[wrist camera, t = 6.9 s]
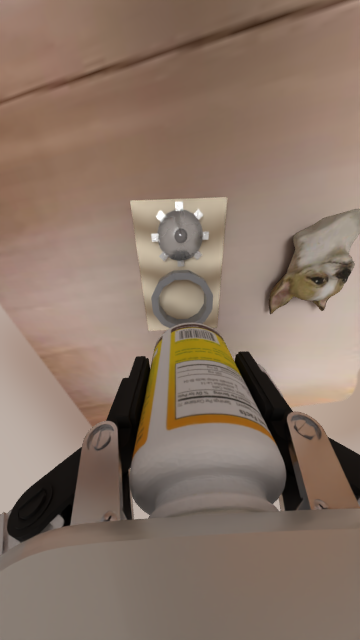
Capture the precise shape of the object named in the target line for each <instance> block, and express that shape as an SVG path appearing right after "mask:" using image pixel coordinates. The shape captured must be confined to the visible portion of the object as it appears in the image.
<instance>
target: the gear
mask: <svg viewBox="0 0 360 640" xmlns="http://www.w3.org/2000/svg"><path fill="white" fill-rule="evenodd" d="M202 216H203V214H202V213H201V212H200V210H199V209H197V211H196V212H195V213H194V214H193V213H191V212H189V211H187V210H183V202H175V210H173V211H171V212H169V213H167V214H166V215H165V214H164V213H163V212H162V211H161V210H160V211H159V213H158V214H157V216H156V218H157V219H158V220H159V221H160V224H159V227H158V232H157V233H156V234H151V236H152V242H158V243H159V246H160V248H161V250H162V251H163V252H162V254H161V255H160V256H159V257H160V258H161V259H162V260H163V261H165V260H166V259H167V258H168V257H169V258H171V259H173V260H177V261H178V267H180V266H184V260H187V259H190V258H191V257H193V256H194V257H195V258H196V259H197V260H198V259H199V258H200V257H201V256H202V254H201V253H200V252H199V251H198V250H199V249H200V247H201V244H202V240H208V238H209V232H203V230H202V226H201V224H200V222H199V219H200V218H201V217H202Z"/></svg>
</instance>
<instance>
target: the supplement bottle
mask: <svg viewBox="0 0 360 640" xmlns="http://www.w3.org/2000/svg"><path fill="white" fill-rule="evenodd" d="M285 482H286V469H285V464H284V461H283V458H282V456H281V454H280V451H279V449H278V447H277V445H276V443H275V440H274V439H273V437H272V435H271V433H270V431H269V429H268V427H267V425H266V423H265V421H264V419H263V417H262V416H261V414H260V412H259V410H258V408H257V406H256V404H255V402H254V400H253V398H252V396H251V394H250V392H249V390H248V388H247V386H246V384H245V382H244V380H243V378H242V376H241V374H240V372H239V370H238V368H237V366H236V364H235V362H234V360H233V358H232V356H231V354H230V352H229V350H228V348H227V346H226V344H225V342H224V340H223V339H222V337H221V336H220V335H219V334H218V333H217V332H216V331H215V330H214V329H212V328H211V327H209V326H207V325H204V324H200V323H183V324H179V325H176V326H174V327H172V328H170V329H168V330H167V331H166V332H164V333H163V334H162V335H161V337H160V338H159V340H158V341H157V343H156V346H155V349H154V354H153V358H152V364H151V369H150V373H149V378H148V383H147V388H146V393H145V398H144V403H143V408H142V413H141V418H140V423H139V427H138V432H137V438H136V443H135V447H134V452H133V457H132V463H131V469H130V476H129V486H130V491H131V494H132V496H133V499H134V500H135V502H136V503H137V505H138V506H139V507H140V508H141V509H142V510H143V511H144V512H146V513H148V514H149V515H150V516H149V518H148V519H150V518H167V517H183V516H201V515H219V514H238V513H256V512H276V511H278V509H277V508H276V507H275V506H274V505H273V503H274V502H275V501H276V500H277V499H278V498H279V496H280V495H281V493H282V492H283V490H284V487H285Z"/></svg>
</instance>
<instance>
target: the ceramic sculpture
mask: <svg viewBox="0 0 360 640" xmlns="http://www.w3.org/2000/svg"><path fill="white" fill-rule="evenodd" d="M359 234H360V209H354V210H351V211H347V212H343V213H340V214H336V215H333V216H329V217H326V218H323V219H322V220H320V221H319V222H317V223H316V224H314V225H312V226H311V227H309V228H307V229H304V230H302V231H300V232H298V233H296V234H295V235H294V238H293V241H294V245H295V253H294V255H293V257H292V260H291V263H290V265H289V267H288V270H287V273H286V275H284V276H283V277H282V278H281V280H280V281H279V282H278V283H277V284H276V285H275V286H274V288H273V289H272V291H271V293H270V298H269V310H270V314H272V313H273V312H274V311H275V310H276V309H278V308H279V307H281V306H283V305H285V304H287V303H288V302H289V301H290V300H291V299H292V297H297V298H299V299H302V300H307V301H313V302H314V303H315V304H316V305H317V306H318V307H319V309H320V310H321V311H323V310H324V308H325V305H326V302H327V300H328V299H329V298H330V297H331V296H333V295H335V294H336V293H338V292H339V291H340V290H341V289H342V288H343V285H344V283H346V281H347V279H348V276H349V275H350V274H351V271H352V270H353V268H354V265H355V263H354V262H353V260H352V257H351V256H350V255H349V250H350V247H351V245H352V243H353V242H354V240H355V239H356V238H357V237H358V235H359Z"/></svg>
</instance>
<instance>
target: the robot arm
mask: <svg viewBox="0 0 360 640" xmlns="http://www.w3.org/2000/svg"><path fill="white" fill-rule="evenodd" d="M235 364H236V366H237V368H238V370H239V372H240V374H241V376H242V378H243V380H244V382H245V384H246V386H247V388H248V390H249V392H250V394H251V396H252V398H253V400H254V402H255V404H256V406H257V408H258V410H259V412H260V414H261V416H262V417H263V419H264V421H265V423H266V425H267V427H268V429H269V431H270V433H271V435H272V437H273V439H274V440H275V443H276V445H277V447H278V449H279V451H280V454H281V456H282V458H283V461H284V464H285V469H286V482H285V487H284V490H283V492H282V493H281V495H280V496H279V503H280V509H281V511H276V512H256V513H238V514H219V515H201V516H183V517H167V518H150V519H135V520H134V514H133V501H132V494H131V491H130V486H129V476H130V468H131V463H132V457H133V452H134V447H135V443H136V438H137V432H138V427H139V423H140V418H141V413H142V408H143V403H144V398H145V393H146V388H147V383H148V378H149V373H150V365H149V359H148V358H146V357H145V356H139V357H136V358H135V361H134V364H133V367H132V370H131V373H130V376H129V378H123V379H122V381H121V384H120V386H119V389H118V392H117V394H116V397H115V399H114V402H113V404H112V407H111V410H110V412H109V415H108V417H107V420H106V421H104V422H100V423H98V424H96V425H95V426H94V427H92V428H91V429H90V431H89V432H88V433H87V434H86V436H85V438H84V441H83V444H82V447H81V448H80V449H78V450H77V451H76V452H74V453H73V454H72V455H71V456H69V457H68V458H67V459H65V460H64V461H63V462H62V463H60V464H59V465H58V466H57V467H55V468H54V469H53V470H52V471H50V472H49V473H48V474H47V475H45V476H44V477H42V478H41V479H40V480H39V481H37V482H36V483H35V484H34V485H33V486H31V487H30V488H29V489H28V490H27V491H26V492H25V493H24V494H23V495H22V496H21V497H20V499H19V500H18V501H17V502H16V504H15V506H14V507H13V509H12V510H10V511H9V512H8V513H4V512H3V513H2V514H0V640H360V455H359V454H357V453H355V452H354V451H352V450H350V449H348V448H346V447H345V446H343V445H341V444H339V443H338V442H336V441H334V440H332V439H331V438H329V437H327V435H326V433H325V431H324V429H323V427H322V426H321V425H320V424H319V423H318V422H317V421H316V420H315V419H313V418H312V417H310V416H308V415H307V414H304V413H301V412H293V411H292V410H291V408H290V407H289V405H288V404H287V403H286V401H285V400H284V398H283V397H282V395H281V394H280V393H279V391H278V390H277V388H276V387H275V385H274V384H273V382H272V381H271V380H270V378H269V377H268V375H267V374H266V373H265V372H262V371H261V369H260V368H259V366H258V365H257V363H256V362H255V360H254V359H253V357H252V356H251V354H250V353H249V352H239V353H238V354H236V357H235Z"/></svg>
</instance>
